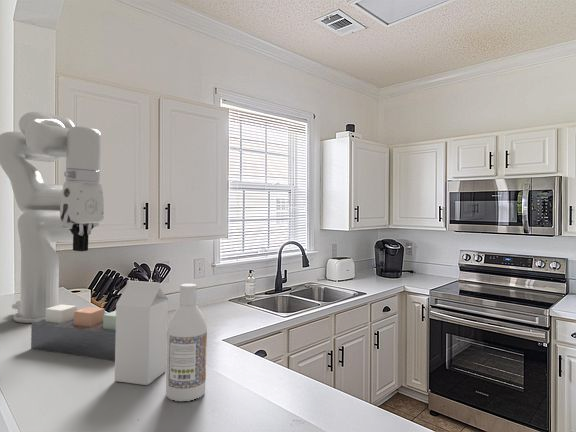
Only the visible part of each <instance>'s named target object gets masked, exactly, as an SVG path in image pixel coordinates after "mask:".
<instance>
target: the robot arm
mask: <svg viewBox="0 0 576 432" xmlns="http://www.w3.org/2000/svg"><path fill="white" fill-rule="evenodd" d="M18 127H19V130H20V131H5V132H2V133H1V134H0V166H1V169H2V170H3V172H4V173H5V174H6V176H7V178H8V179H9V182H10V185H11V188H12V192H13V195H14V199H15V202H16V205H17V207H18V209H19V210H20V211H21V212H22V214H21V215H19V218H18V220H17V231H18V236H19V245H20V299H19V300H17V301H16V302H15V303H13V304H12V305H11V309H14V310H17V313H15V314H14V315H13V321H14V322H17V323H25V324H32V323H34V322H37V321H40V320H44V319H46V309H47V308H50V307H54V306H57V305H59V288H60V287H59V286H60V284H59V283H60V282H59V281H60V257H59V254H58V253H57V251H56V250H55V248H53V246H52V245H51V243H60V242H62V243H63V242H72V251H75V252H88V250H89V236H90V235H91V233H92V230H93V228H96V227H99V224H100V223H101V222H103V221H104V219H105V218H104V217H105V214H104V213H105V204H104V203H105V202H104V192H103V187H102V184H100V179H101V178H100V176H101V172H100V171H101V152H102V151H101V150H102V135H101V132H100V131H99V130H98V129H96V128H92V127H86V126H79V125H78V126H77V125H76V126H75V124H74V123H73V121H72V120H71V119H70V118H68V117H66V116H61V115H55V114H49V113H46V112H45V113H44V112H39V111H29V112H26V113H24V114H23V115H22V116H21V117H20V119H19V121H18ZM62 158H66V159H65V160H66V161H65V162H66V163H65V171H64V173H63V175H64V177H65V181H64V183H63V184H54V183H47V182H44V179H43V175H42V173H41V172H40V170H38V168H36V167H35V165H33V164H32V163H31V162H29V161H37V162H46V163H47V162H48V163H54V162H58V161H59V160H60V159H62Z"/></svg>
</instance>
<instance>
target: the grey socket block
mask: <svg viewBox="0 0 576 432" xmlns="http://www.w3.org/2000/svg"><path fill="white" fill-rule="evenodd" d="M30 329H31V330H30V334H31V336H30V340H31V341H30V349H31V350H36V351H42V352H50V353H56V354H57V353H58V354H64V355H71V356H77V357H78V356H79V357H84V358H92V359H97V360H98V359H99V360H105V361H113V362H115V338H116V330H112V329H104V328H103V322H102V323H100V324H97V325H94V326H92V327H87V326H79V325H74V319H73V320H70V321H67V322H64V323H54V322H46V319H44V320H40V321H37V322H34V323H31V327H30Z"/></svg>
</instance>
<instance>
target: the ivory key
mask: <svg viewBox="0 0 576 432" xmlns="http://www.w3.org/2000/svg"><path fill="white" fill-rule="evenodd" d="M77 307H78V305H71V304H70V305H69V304H58V305H57V306H54V307H50V308H47V309H46V322H54V323H64V322H67V321H70V320H73V319H74V311H77V310H78V308H77Z"/></svg>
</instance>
